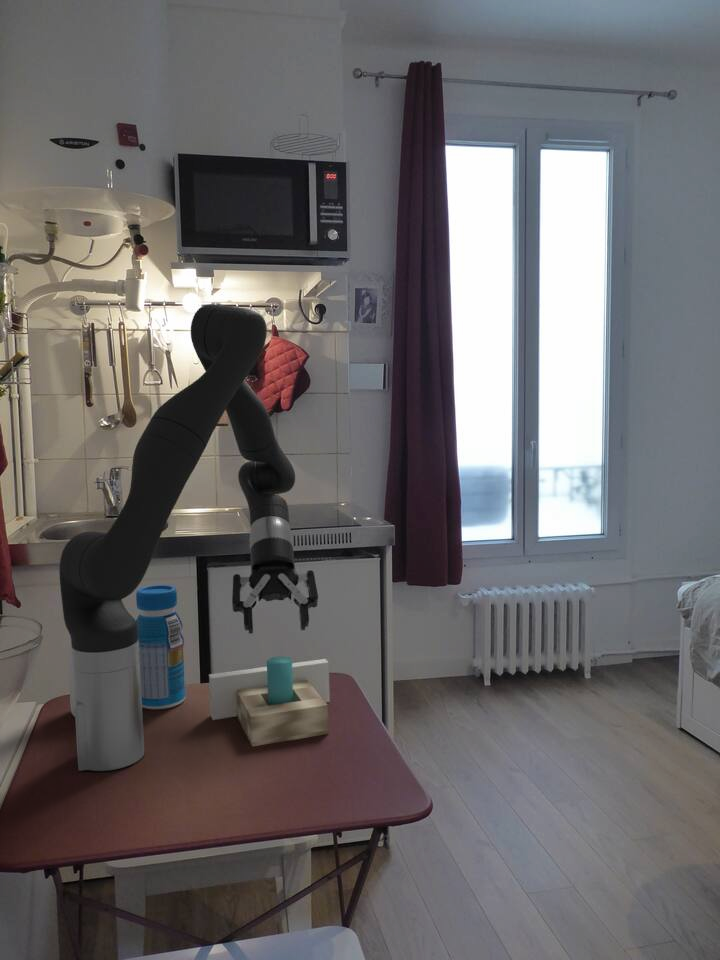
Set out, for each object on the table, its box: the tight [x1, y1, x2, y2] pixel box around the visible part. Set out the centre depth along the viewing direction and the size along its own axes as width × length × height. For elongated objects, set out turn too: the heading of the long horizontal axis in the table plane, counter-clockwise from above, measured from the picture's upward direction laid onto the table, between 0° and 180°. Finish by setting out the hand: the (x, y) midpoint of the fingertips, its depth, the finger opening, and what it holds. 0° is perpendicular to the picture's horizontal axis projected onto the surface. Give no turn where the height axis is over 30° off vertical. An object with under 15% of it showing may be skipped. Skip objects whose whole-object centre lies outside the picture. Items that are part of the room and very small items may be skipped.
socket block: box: [237, 680, 330, 747], centre depth 126 cm, size 12×12×5 cm
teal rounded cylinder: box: [266, 656, 293, 706], centre depth 125 cm, size 4×4×10 cm
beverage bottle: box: [135, 584, 186, 711], centre depth 136 cm, size 8×8×20 cm
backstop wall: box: [208, 658, 331, 721], centre depth 133 cm, size 20×2×7 cm, turn 109°
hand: (277, 629), depth 129 cm, fingers open, 8 cm apart
